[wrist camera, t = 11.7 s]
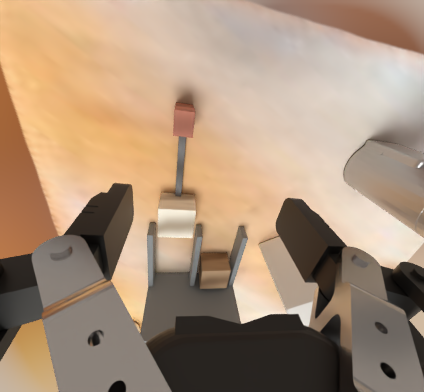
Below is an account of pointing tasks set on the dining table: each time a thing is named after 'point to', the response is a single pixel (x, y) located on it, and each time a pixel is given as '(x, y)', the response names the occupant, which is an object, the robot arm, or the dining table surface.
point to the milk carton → (288, 280)
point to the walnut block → (214, 270)
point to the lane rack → (187, 290)
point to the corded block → (179, 184)
